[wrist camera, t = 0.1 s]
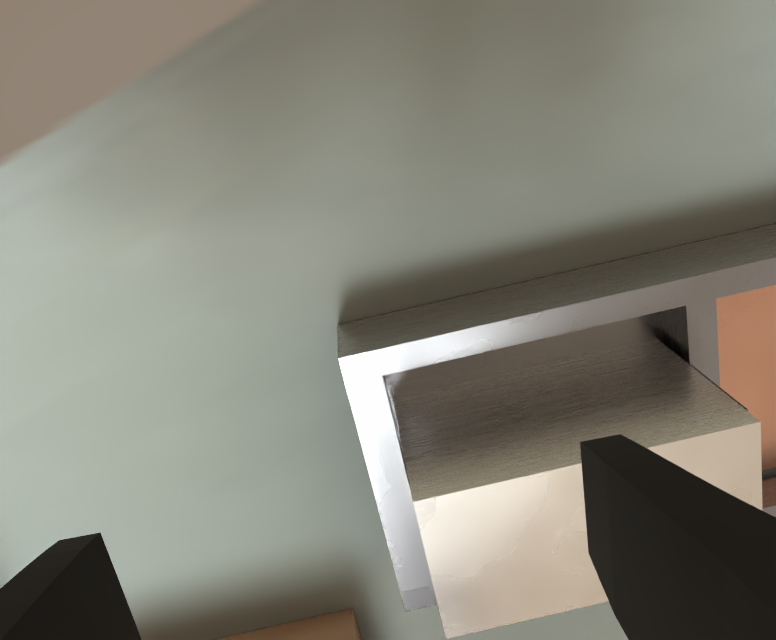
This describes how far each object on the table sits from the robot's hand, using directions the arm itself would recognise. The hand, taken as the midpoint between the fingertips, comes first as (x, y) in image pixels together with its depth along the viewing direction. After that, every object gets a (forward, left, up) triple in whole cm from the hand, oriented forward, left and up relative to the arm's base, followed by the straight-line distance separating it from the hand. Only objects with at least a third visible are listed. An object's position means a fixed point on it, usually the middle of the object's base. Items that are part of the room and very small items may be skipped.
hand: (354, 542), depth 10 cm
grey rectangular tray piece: (-4, -11, -10) cm, 15 cm away
